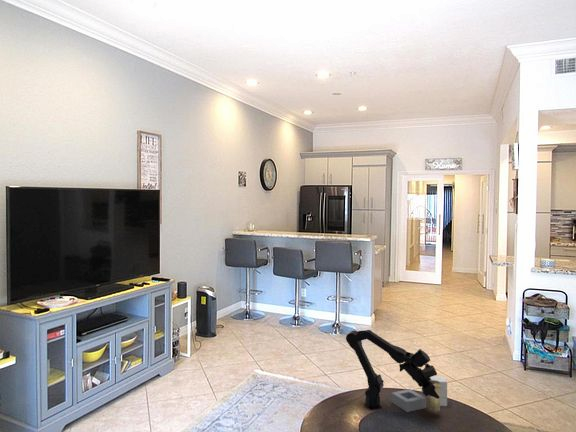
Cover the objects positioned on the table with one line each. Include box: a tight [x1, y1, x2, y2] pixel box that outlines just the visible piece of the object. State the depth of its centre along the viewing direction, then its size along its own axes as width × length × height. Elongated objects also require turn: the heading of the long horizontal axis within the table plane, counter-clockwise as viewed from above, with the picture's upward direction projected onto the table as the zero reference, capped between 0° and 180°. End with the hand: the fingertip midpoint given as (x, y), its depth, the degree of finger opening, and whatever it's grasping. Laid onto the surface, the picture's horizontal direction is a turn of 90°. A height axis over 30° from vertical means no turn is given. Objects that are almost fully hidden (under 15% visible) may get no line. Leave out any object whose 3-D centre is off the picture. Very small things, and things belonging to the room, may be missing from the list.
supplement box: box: [430, 375, 448, 407], centre depth 212 cm, size 7×7×13 cm
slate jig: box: [391, 388, 427, 413], centre depth 210 cm, size 12×12×5 cm
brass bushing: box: [428, 380, 441, 413], centre depth 199 cm, size 6×6×13 cm
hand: (437, 395), depth 198 cm, fingers closed on brass bushing, 5 cm apart
